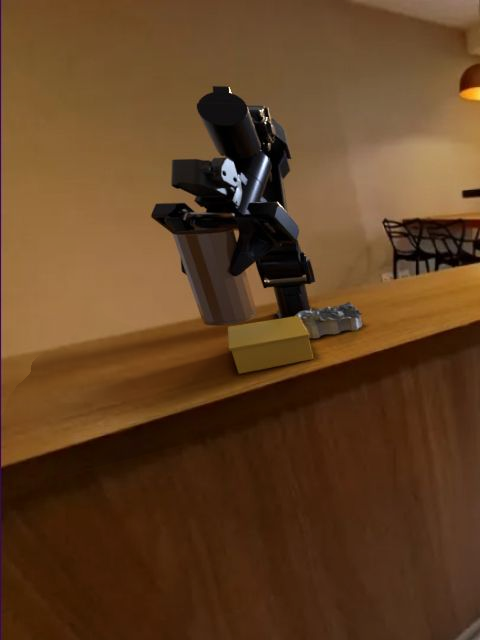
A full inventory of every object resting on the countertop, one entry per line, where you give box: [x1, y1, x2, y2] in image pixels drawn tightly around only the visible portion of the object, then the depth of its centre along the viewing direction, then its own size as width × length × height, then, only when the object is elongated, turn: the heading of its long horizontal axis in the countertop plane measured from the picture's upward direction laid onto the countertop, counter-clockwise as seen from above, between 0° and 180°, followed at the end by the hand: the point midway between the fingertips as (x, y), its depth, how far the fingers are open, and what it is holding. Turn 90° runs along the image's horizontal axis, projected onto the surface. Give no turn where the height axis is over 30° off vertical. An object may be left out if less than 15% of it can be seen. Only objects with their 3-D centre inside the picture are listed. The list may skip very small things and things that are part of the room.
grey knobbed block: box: [295, 301, 363, 339], centre depth 79 cm, size 11×8×4 cm
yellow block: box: [227, 316, 314, 375], centre depth 68 cm, size 11×10×4 cm
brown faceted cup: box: [172, 228, 258, 327], centre depth 61 cm, size 7×7×12 cm
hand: (209, 274), depth 59 cm, fingers closed on brown faceted cup, 7 cm apart
